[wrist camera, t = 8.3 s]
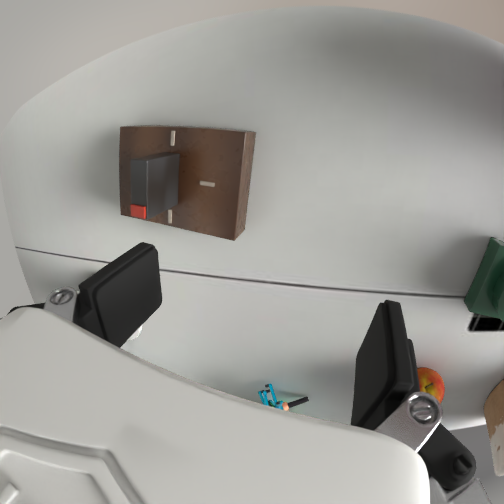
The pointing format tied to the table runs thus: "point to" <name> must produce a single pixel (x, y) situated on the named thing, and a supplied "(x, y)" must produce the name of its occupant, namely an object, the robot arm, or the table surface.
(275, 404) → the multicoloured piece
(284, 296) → the table surface
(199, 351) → the table surface
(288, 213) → the table surface
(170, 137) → the dial panel
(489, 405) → the vase
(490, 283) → the button box
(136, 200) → the pointer knob
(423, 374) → the fruit
